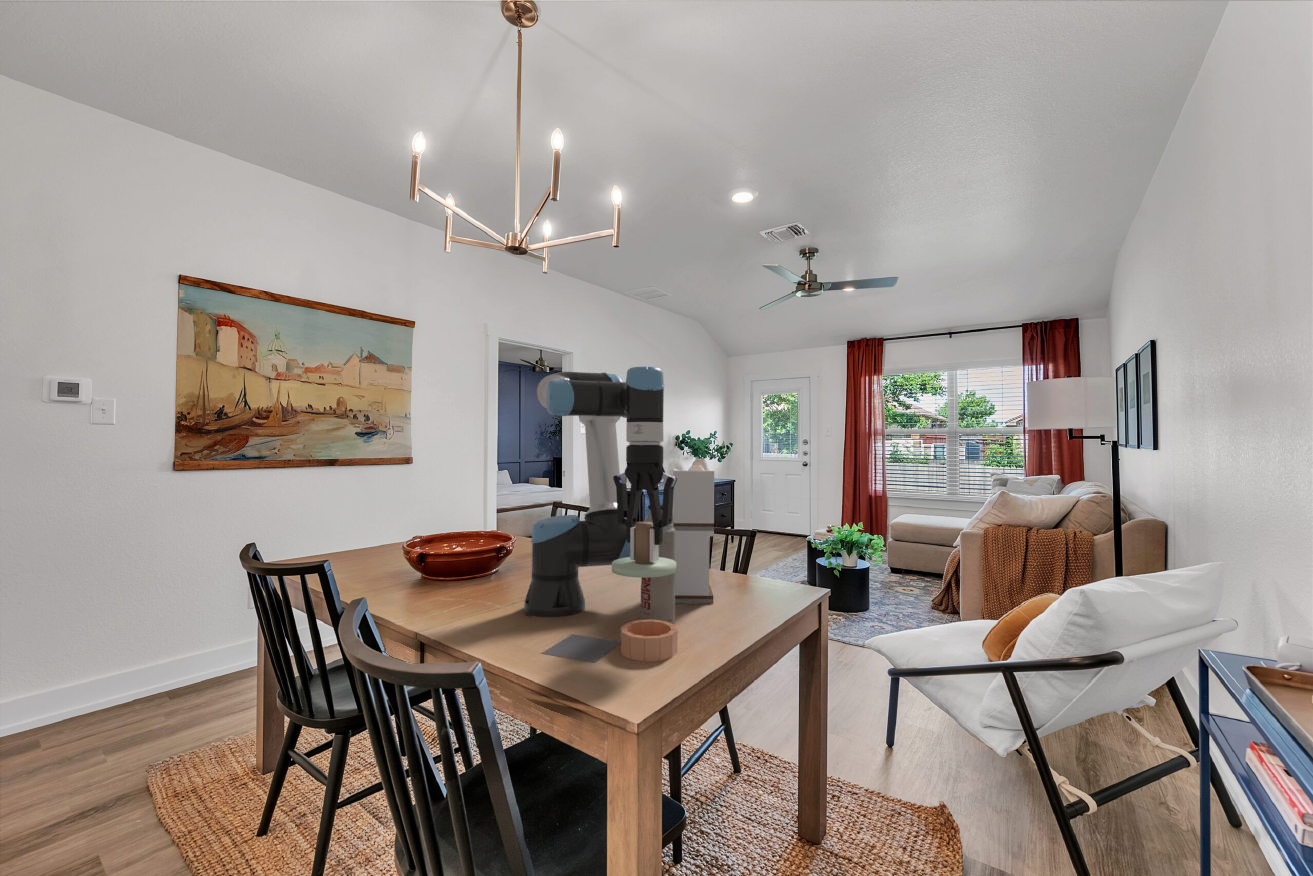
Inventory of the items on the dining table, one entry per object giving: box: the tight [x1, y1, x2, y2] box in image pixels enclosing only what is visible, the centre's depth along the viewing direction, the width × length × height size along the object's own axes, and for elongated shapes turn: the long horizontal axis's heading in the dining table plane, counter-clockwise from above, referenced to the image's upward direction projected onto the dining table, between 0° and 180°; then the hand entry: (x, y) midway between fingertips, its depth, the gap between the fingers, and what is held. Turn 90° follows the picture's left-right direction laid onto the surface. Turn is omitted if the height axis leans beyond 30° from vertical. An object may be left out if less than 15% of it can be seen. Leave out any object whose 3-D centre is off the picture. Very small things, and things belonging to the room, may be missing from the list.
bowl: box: [620, 619, 678, 663], centre depth 115 cm, size 11×11×5 cm
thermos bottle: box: [640, 503, 676, 625], centre depth 133 cm, size 8×8×28 cm
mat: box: [541, 633, 621, 664], centre depth 116 cm, size 12×12×1 cm
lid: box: [611, 521, 676, 579], centre depth 114 cm, size 13×13×10 cm
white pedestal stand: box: [672, 468, 715, 604], centre depth 156 cm, size 11×11×35 cm
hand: (644, 559), depth 115 cm, fingers closed on lid, 4 cm apart
